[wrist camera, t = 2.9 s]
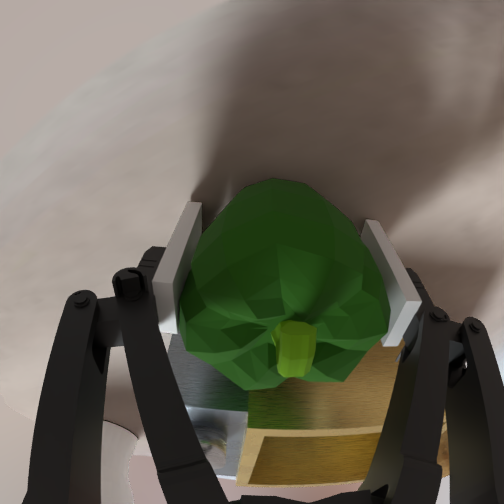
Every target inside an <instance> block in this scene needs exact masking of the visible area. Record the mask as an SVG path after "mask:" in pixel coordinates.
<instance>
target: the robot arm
mask: <svg viewBox="0 0 504 504" xmlns="http://www.w3.org/2000/svg"><path fill="white" fill-rule="evenodd" d="M201 235H202V202H187V204H186V206H185V208H184V211H183V213H182V215H181V217H180V219H179V221H178V223H177V226H176V228H175V230H174V232H173V234H172V236H171V239H170V241H169V243H168V245H167V248H166V247H155V246H152V247H151V248H150V249H148V250H147V251H146V252H145V253H144V255H143V257H142V259H141V261H140V263H139V265H138V267H137V268H134V267H132V268H125V269H122V270H120V271H118V272H117V273H116V274H115V275H114V276H113V279H112V284H113V288H114V292H115V296H114V297H110V298H101V299H97V296H96V295H95V293H93V292H92V291H89V290H80V291H77V292H75V293H73V294H72V295H71V296H69V298H68V299H67V301H66V304H65V307H64V310H63V313H62V316H61V319H60V323H59V326H58V329H57V333H56V336H55V339H54V343H53V346H52V350H51V354H50V358H49V361H48V365H47V369H46V374H45V378H44V382H43V387H42V391H41V396H40V401H39V406H38V411H37V416H36V423H35V428H34V435H33V442H32V449H31V457H30V466H29V476H28V490H27V493H26V495H25V498H24V500H23V502H22V504H101V450H102V429H103V414H104V402H105V391H106V381H107V372H108V364H109V356H110V349H111V347H116V346H124V348H125V353H126V358H127V363H128V368H129V372H130V377H131V381H132V385H133V389H134V393H135V397H136V401H137V405H138V409H139V413H140V416H141V420H142V424H143V427H144V431H145V434H146V437H147V441H148V444H149V447H150V450H151V454H152V457H153V460H154V463H155V466H156V469H157V475H158V479H159V482H160V485H161V488H162V490H163V493H164V496H165V499H166V501H167V504H435V503H436V500H437V496H438V492H439V487H440V483H441V479H442V472H443V469H442V466H441V465H439V464H437V456H438V450H439V445H440V439H441V433H442V426H443V419H444V412H445V413H446V423H447V434H448V448H449V470H450V504H504V386H503V382H502V378H501V375H500V371H499V368H498V364H497V361H496V358H495V354H494V351H493V348H492V345H491V342H490V339H489V336H488V333H487V330H486V328H485V326H484V325H483V323H482V322H481V321H480V320H478V319H476V318H473V317H467V318H465V320H464V321H463V323H462V324H460V323H457V322H453V321H450V319H449V316H448V315H447V313H446V312H445V311H443V310H442V309H440V308H439V307H435V306H434V305H433V303H432V301H431V299H430V297H429V295H428V293H427V291H426V289H424V286H423V284H422V283H421V280H420V278H419V277H418V275H417V274H416V273H415V272H414V271H413V270H412V269H411V268H405V267H404V266H403V264H402V262H401V260H400V258H399V256H398V255H397V253H396V251H395V249H394V247H393V246H392V244H391V242H390V240H389V239H388V237H387V235H386V234H385V232H384V230H383V228H382V227H381V225H380V223H379V222H378V221H376V220H368V219H366V220H365V223H364V227H363V230H362V234H361V237H360V239H361V241H362V242H363V243H364V244H365V245H366V247H367V248H368V249H369V251H370V253H371V255H372V257H373V259H374V261H375V263H376V265H377V267H378V269H379V271H380V273H381V275H382V278H383V282H384V285H385V289H386V293H387V296H388V300H389V304H390V308H391V314H390V322H389V328H388V333H387V334H386V335H385V336H384V337H383V338H381V342H382V345H383V347H384V346H398V345H399V343H400V341H401V339H402V338H403V339H404V342H405V345H404V347H403V349H402V350H401V352H400V354H399V355H398V357H397V358H396V360H395V362H398V360H399V359H400V361H399V365H398V370H397V374H396V379H395V383H394V387H393V391H392V395H391V399H390V403H389V407H388V411H387V414H386V418H385V421H384V425H383V428H382V432H381V435H380V438H379V441H378V444H377V448H376V451H375V454H374V457H373V460H372V462H371V465H370V468H369V471H368V474H367V476H366V478H365V480H364V482H363V483H362V485H361V486H360V487H359V489H358V491H354V492H346V493H340V494H337V495H334V496H331V497H328V498H324V499H321V500H318V501H315V502H311V503H306V502H300V501H295V500H291V499H286V498H281V497H277V496H251V495H242V496H241V499H240V500H236V501H231V502H228V500H227V498H226V496H225V494H224V491H223V489H222V487H221V485H220V483H219V481H218V479H217V476H216V474H215V472H214V470H213V468H212V466H211V464H210V462H209V461H208V459H207V458H206V456H205V454H204V452H203V449H202V447H201V445H200V442H199V440H198V437H197V435H196V432H195V430H194V427H193V425H192V422H191V420H190V417H189V414H188V412H187V409H186V407H185V404H184V401H183V398H182V396H181V393H180V390H179V387H178V384H177V382H176V379H175V376H174V373H173V370H172V367H171V364H170V361H169V358H168V355H167V352H166V349H165V345H164V342H163V339H162V336H161V333H160V332H165V333H173V334H178V330H179V300H180V297H181V294H182V291H183V288H184V285H185V282H186V279H187V276H188V273H189V271H190V270H191V261H192V258H193V256H194V253H195V250H196V247H197V244H198V241H199V239H200V236H201ZM158 324H159V326H158ZM466 361H467V368H466V366H465V363H466Z"/></svg>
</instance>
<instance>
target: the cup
mask: <svg viewBox="0 0 504 504" xmlns="http://www.w3.org/2000/svg"><path fill="white" fill-rule="evenodd" d="M137 441H138V439H137V437H136V436H135V435H134V434H132V433H131V432H130V431H128V430H126V429H124V428H122V427H120V426H118V425H115V424H113V423H110V422H107V421H103V429H102V450H101V504H134V498H133V492H132V489H131V486H130V483H129V480H128V471H129V461H130V458H131V456H132V454H133V452H134V449H135V447H136V444H137Z"/></svg>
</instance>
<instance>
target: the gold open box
mask: <svg viewBox="0 0 504 504" xmlns="http://www.w3.org/2000/svg"><path fill="white" fill-rule="evenodd" d="M404 345H405V342H404V339H403V338H402V339H401V341H400V343H399V345H398V346H384V347H383V345H382V342H381V339H380V340H379V341H378V342H377V343H376V344H375V345H374V346H373V347H372V348H371V349H370V350H368V352H367V353H366V354H365V356H364V357H363V358H362V359H361V361H360V362H359V363H358V365H357V366H356V367H355V368H354V370H353V371H352V372H351V373H350V375H349V376H348V377H347V378H346V380H345V381H344V382H308V381H305V380H302V379H298V378H295V377H288V378H287V379H286V380H285V381H283V382H282V383H281V384H279V385H278V386H277V387H276V388H267V389H256V390H244V389H242V388H241V387H239V386H238V385H237V384H235V383H234V382H233V381H231V380H230V379H229V378H227V377H226V376H225V375H223V374H222V373H221V372H219V371H218V370H217V369H215V368H214V367H213V366H212V365H210V364H208V363H206V362H205V361H203V360H201V359H199V358H197V357H196V356H194V355H192V354H190V353H189V352H187V351H186V349H185V346H184V343H183V340H182V337H181V334H180V330H178V334H172V337H171V341H170V345H169V349H168V353H167V355H168V358H169V361H170V364H171V367H172V370H173V373H174V376H175V379H176V382H177V384H178V387H179V390H180V393H181V396H182V398H183V401H184V404H185V407H186V409H187V412H188V414H189V417H190V420H191V422H192V425H193V427H194V430H195V432H196V435H197V437H198V440H199V442H200V445H201V447H202V449H203V452H204V454H205V456H206V458H207V459H208V461H209V462H210V464H211V466H212V468H213V470H214V472H215V474H216V475H225V476H236V486H247V487H311V486H312V487H313V486H327V485H339V484H350V483H358V482H364V480H365V478H366V476H367V474H368V471H369V468H370V465H371V462H372V460H373V457H374V454H375V451H376V448H377V444H378V441H379V438H380V435H381V432H382V428H383V425H384V421H385V418H386V414H387V411H388V407H389V403H390V399H391V395H392V391H393V387H394V383H395V379H396V374H397V370H398V365H399V361H400V359H399V360H398V362H395V360H396V358H397V357H398V355H399V354H400V352H401V350H402V349H403V347H404ZM446 430H447V423H446V413H445V412H444V419H443V426H442V433H444V432H445V431H446ZM442 433H441V434H442Z"/></svg>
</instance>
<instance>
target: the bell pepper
mask: <svg viewBox="0 0 504 504" xmlns="http://www.w3.org/2000/svg"><path fill="white" fill-rule="evenodd" d="M390 314H391V308H390V304H389V300H388V296H387V293H386V289H385V285H384V282H383V278H382V275H381V273H380V271H379V269H378V267H377V265H376V263H375V261H374V259H373V257H372V255H371V253H370V251H369V249H368V248H367V247H366V245H365V244H364V243H363V242H362V241H361V239H360V237H359V235H358V233H357V231H356V229H355V227H354V225H353V223H352V221H350V220H349V219H348V218H347V217H346V216H345V215H344V214H343V213H342V212H341V211H339V210H338V209H337V208H336V207H335V206H334V205H332V204H331V203H330V202H329V201H327V200H326V199H325V198H323V197H322V196H321V195H320V194H318V193H317V192H316V191H314V190H313V189H312V188H310V187H309V186H308V185H306V184H305V183H299V182H293V181H287V180H281V179H275V178H271V179H268V180H265V181H262V182H259V183H256V184H253V185H250V186H247V187H245V188H244V189H242V190H241V191H240V192H239V193H238V194H237V195H236V196H235V197H234V198H233V200H232V201H231V202H230V203H229V204H228V205H227V206H226V207H225V209H224V210H223V211H222V212H221V213H220V214H219V215H218V217H217V218H216V219H215V220H214V221H213V222H212V223H211V225H210V226H209V227H208V228H207V229H206V230H205V232H204V233H203V234H202V235H201V236H200V239H199V241H198V244H197V247H196V250H195V253H194V256H193V258H192V261H191V270H190V271H189V273H188V276H187V279H186V282H185V285H184V288H183V291H182V294H181V297H180V300H179V330H180V334H181V337H182V340H183V343H184V346H185V349H186V351H187V352H189V353H190V354H192V355H194V356H196V357H197V358H199V359H201V360H203V361H205V362H206V363H208V364H210V365H212V366H213V367H214V368H215V369H217V370H218V371H219V372H221V373H222V374H223V375H225V376H226V377H227V378H229V379H230V380H231V381H233V382H234V383H235V384H237V385H238V386H239V387H241V388H242V389H244V390H256V389H267V388H276V387H277V386H278V385H279V384H281V383H282V382H283V381H285V380H286V379H287V378H288V377H295V378H298V379H302V380H305V381H308V382H344V381H345V380H346V378H347V377H348V376H349V375H350V373H351V372H352V371H353V370H354V368H355V367H356V366H357V365H358V363H359V362H360V361H361V359H362V358H363V357H364V356H365V354H366V353H367V352H368V350H370V349H371V348H372V347H373V346H374V345H375V344H376V343H377V342H378V341H379V340H380V339H381V338H383V337H384V336H385V335H386V334H387V333H388V328H389V322H390Z"/></svg>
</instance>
